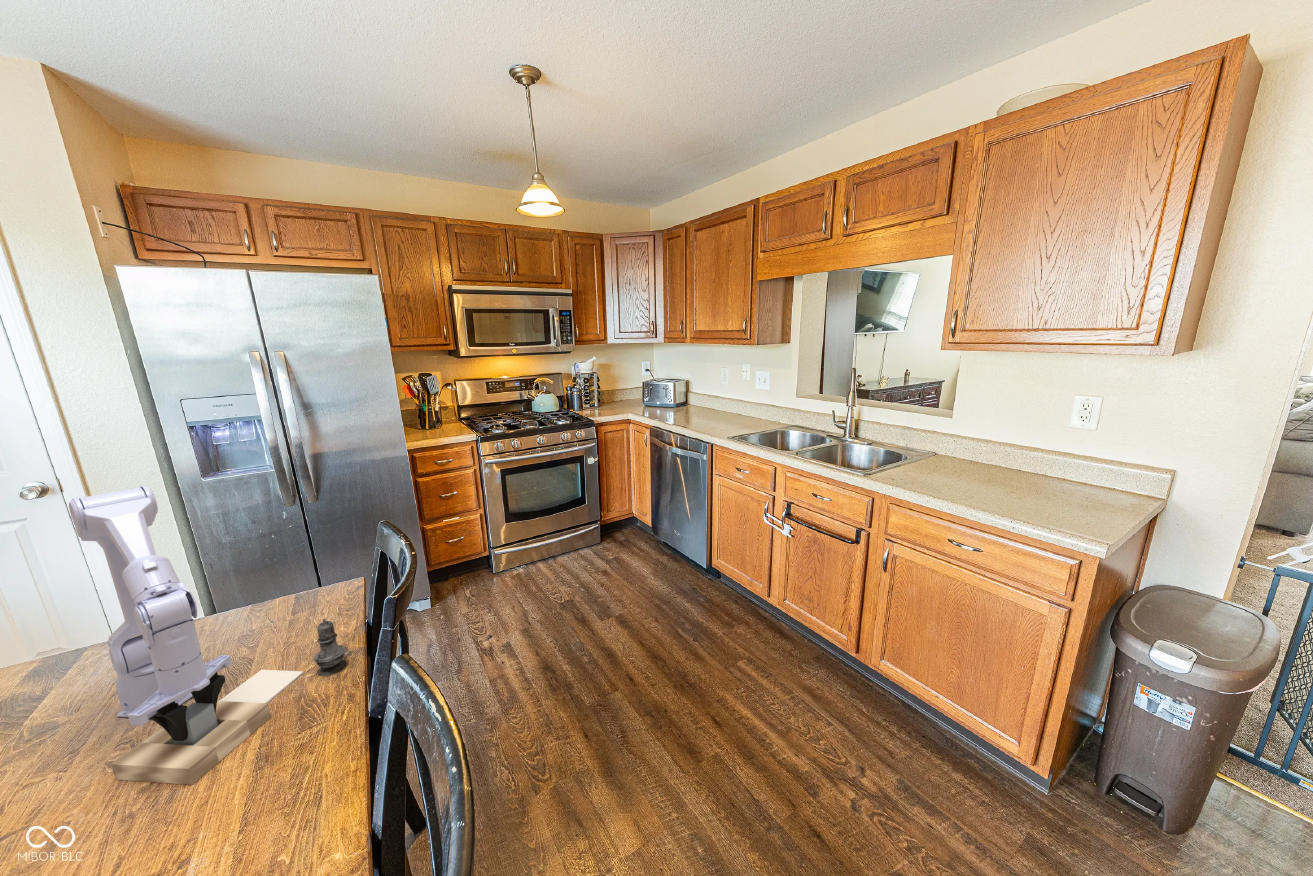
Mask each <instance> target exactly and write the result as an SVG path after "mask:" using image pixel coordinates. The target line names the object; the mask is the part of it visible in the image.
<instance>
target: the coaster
mask: <svg viewBox="0 0 1313 876" xmlns="http://www.w3.org/2000/svg"><path fill="white" fill-rule="evenodd" d="M304 673H305V672H304V670H303V671H302V670H300V671H299V670H280V669H279V670H276V669H275V670H274V669H260V670H259V671H257V673H255V674H253V675H252V676H251V677H249V678H248V679H247V680H245V681H244V682H243V683H241V684H240V685H238V686H237V687H236V688H235V689H233V690H232V691H230V692H229V693H228V694H226V695H225V696H224V697H222V698H221V699H219V701H230V702H250V703H268V704H269V703H270V702H271V701H272V700H273V699H275V698H276V697H277V696H278V695H279V694H280V693H282V692H283V691H284V690H285V689H286V688H288V687H289V686H290V685H291V684H293V683H294V682H295V681H296V680H298V678H300V677H301V676H302V675H303V674H304Z"/></svg>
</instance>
